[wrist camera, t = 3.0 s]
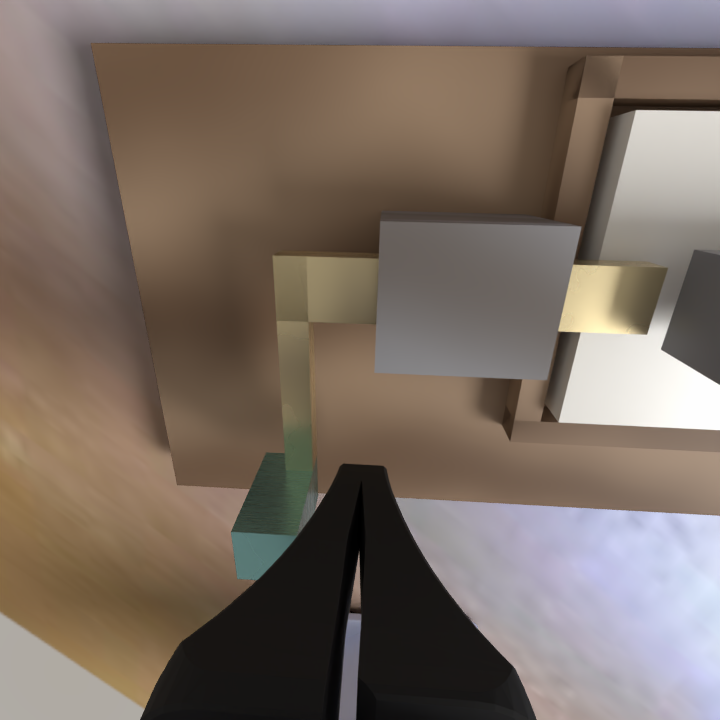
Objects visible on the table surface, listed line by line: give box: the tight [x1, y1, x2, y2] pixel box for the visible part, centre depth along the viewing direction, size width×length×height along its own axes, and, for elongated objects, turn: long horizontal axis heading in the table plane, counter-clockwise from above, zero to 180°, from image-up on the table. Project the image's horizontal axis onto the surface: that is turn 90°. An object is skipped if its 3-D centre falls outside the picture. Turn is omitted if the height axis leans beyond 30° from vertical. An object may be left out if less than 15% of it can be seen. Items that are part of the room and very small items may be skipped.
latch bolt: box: [231, 250, 668, 580], centre depth 10 cm, size 8×10×3 cm
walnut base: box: [91, 43, 720, 516], centre depth 12 cm, size 14×24×5 cm, turn 89°
